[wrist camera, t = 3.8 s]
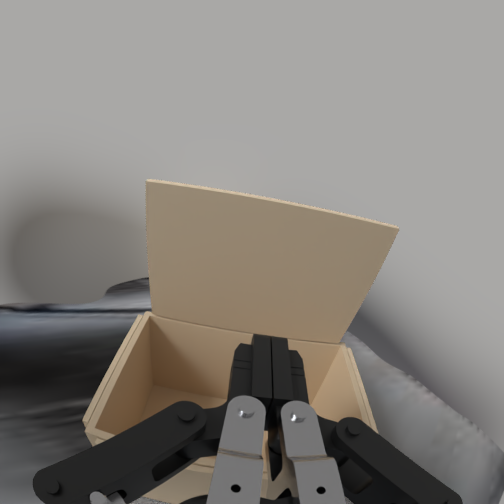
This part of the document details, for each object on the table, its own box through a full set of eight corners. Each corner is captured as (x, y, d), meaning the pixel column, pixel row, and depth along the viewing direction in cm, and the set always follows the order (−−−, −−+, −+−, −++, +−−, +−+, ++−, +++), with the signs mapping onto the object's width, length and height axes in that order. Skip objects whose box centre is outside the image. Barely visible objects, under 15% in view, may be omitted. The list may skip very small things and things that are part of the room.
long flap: (152, 314, 24) (145, 181, 17) (153, 310, 24) (148, 178, 17) (338, 343, 24) (399, 229, 17) (337, 339, 25) (397, 226, 18)
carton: (109, 486, 16) (75, 434, 12) (146, 381, 28) (141, 310, 24) (329, 513, 17) (388, 471, 13) (315, 407, 29) (348, 342, 25)
